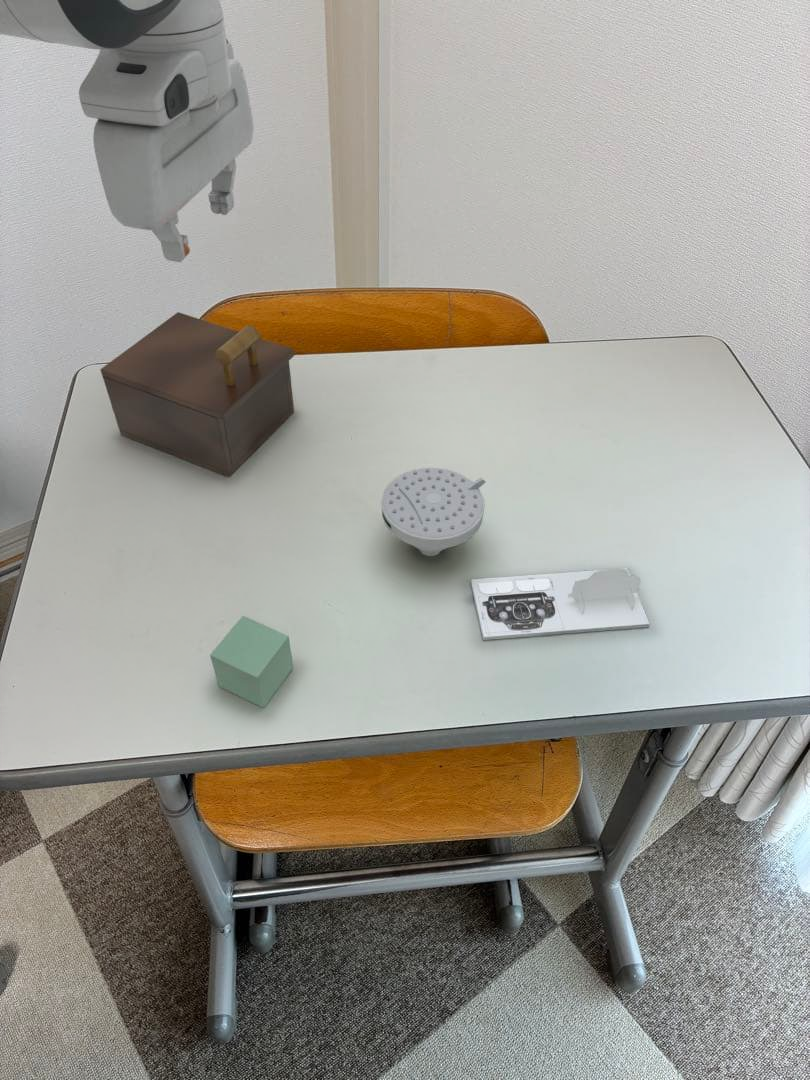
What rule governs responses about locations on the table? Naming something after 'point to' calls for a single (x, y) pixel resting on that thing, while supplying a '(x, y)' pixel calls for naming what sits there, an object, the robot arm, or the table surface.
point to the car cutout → (558, 603)
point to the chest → (203, 423)
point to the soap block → (252, 661)
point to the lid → (199, 364)
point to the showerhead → (433, 508)
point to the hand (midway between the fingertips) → (201, 233)
